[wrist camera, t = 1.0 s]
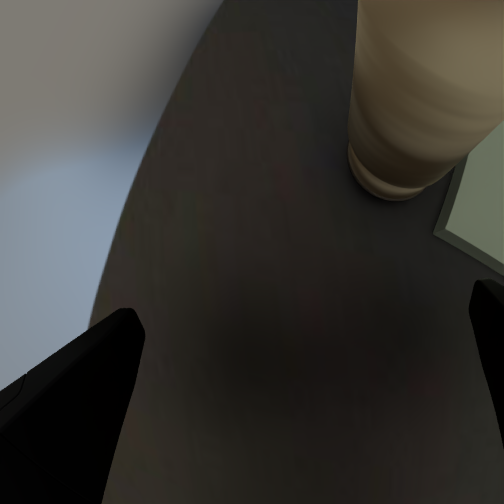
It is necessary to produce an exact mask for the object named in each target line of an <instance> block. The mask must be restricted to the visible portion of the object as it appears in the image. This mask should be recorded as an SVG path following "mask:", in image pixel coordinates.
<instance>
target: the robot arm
mask: <svg viewBox="0 0 504 504" xmlns="http://www.w3.org/2000/svg"><path fill="white" fill-rule="evenodd" d="M469 315H470V319H471V323H472V326H473V330H474V334H475V338H476V342H477V347H478V351H479V355H480V359H481V364H482V367H483V370H484V374H485V377H486V380H487V383H488V387H489V390H490V394H491V397H492V401H493V404H494V408H495V412H496V416H497V420H498V424H499V429H500V433H501V438H502V443H503V448H504V286H503V285H501V284H499V283H498V282H496V281H494V280H492V279H491V278H485V279H479V280H477V281H476V282H475V284H474V287H473V291H472V296H471V300H470V304H469ZM144 341H145V330H144V328H143V326H142V324H141V322H140V320H139V318H138V316H137V314H136V312H135V310H134V309H132V308H120V309H118V310H116V311H115V312H113V313H112V314H110V315H109V316H107V317H106V318H104V319H103V320H101V321H100V322H99V323H97V324H96V325H94V326H93V327H91V328H90V329H88V330H87V331H85V332H84V333H83V334H81V335H80V336H78V337H77V338H75V339H74V340H72V341H71V342H70V343H68V344H67V345H65V346H64V347H62V348H61V349H59V350H58V351H57V352H56V353H54V354H52V355H51V356H49V357H48V358H47V359H45V360H44V361H42V362H41V363H40V364H38V365H37V366H35V367H34V368H33V369H31V370H30V371H28V372H27V374H24V375H23V376H21V377H20V378H19V379H17V380H16V381H14V382H13V383H11V384H10V385H8V386H7V387H6V388H4V389H3V390H1V391H0V504H101V503H102V499H103V495H104V491H105V487H106V483H107V479H108V475H109V472H110V468H111V464H112V460H113V457H114V453H115V449H116V446H117V442H118V439H119V435H120V432H121V428H122V425H123V422H124V418H125V415H126V412H127V408H128V405H129V402H130V399H131V396H132V392H133V389H134V386H135V382H136V378H137V373H138V368H139V364H140V359H141V355H142V350H143V346H144Z"/></svg>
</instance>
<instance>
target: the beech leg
mask: <svg viewBox="0 0 504 504" xmlns="http://www.w3.org/2000/svg"><path fill="white" fill-rule="evenodd" d="M503 120H504V0H358V16H357V33H356V48H355V60H354V72H353V82H352V92H351V102H350V111H349V119H348V136H349V141H348V146H347V161H348V165H349V168H350V171H351V173H352V175H353V177H354V178H355V180H356V181H357V182H358V184H359V185H360V186H361V187H362V188H363V189H364V190H366V191H367V192H368V193H370V194H371V195H373V196H375V197H377V198H379V199H382V200H386V201H394V202H398V201H405V200H409V199H411V198H413V197H415V196H417V195H418V194H420V193H421V192H422V191H423V190H424V189H425V188H426V187H427V186H429V185H431V184H433V183H435V182H437V181H438V180H439V179H441V178H442V177H443V176H444V175H445V174H447V173H448V172H449V171H450V170H451V169H452V168H453V167H454V166H455V165H457V164H458V163H459V162H460V161H461V160H462V159H463V158H464V157H465V156H466V155H467V154H469V153H470V152H471V151H472V150H473V149H474V148H475V147H476V146H477V145H478V144H479V143H480V142H481V141H482V140H484V139H485V138H486V137H487V136H488V135H489V134H490V133H491V132H492V131H493V130H494V129H495V128H496V127H497V126H498V125H499V124H500V123H501V122H502V121H503Z"/></svg>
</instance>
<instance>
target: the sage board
mask: <svg viewBox="0 0 504 504" xmlns="http://www.w3.org/2000/svg"><path fill="white" fill-rule="evenodd" d="M433 235H435V236H437V237H439V238H441V239H442V240H444V241H446V242H448V243H449V244H451V245H453V246H455V247H456V248H458V249H460V250H462V251H463V252H465V253H467V254H468V255H470V256H472V257H473V258H475V259H477V260H478V261H480V262H482V263H483V264H485V265H486V266H488V267H490V268H491V269H493V270H494V271H496V272H498V273H499V274H501V275H502V276H504V120H503V121H502V122H501V123H500V124H499V125H498V126H497V127H496V128H495V129H494V130H493V131H492V132H491V133H490V134H489V135H488V136H487V137H486V138H485V139H484V140H482V141H481V142H480V143H479V144H478V145H477V146H476V147H475V148H474V149H473V150H472V151H471V152H470V153H469V154H467V155H466V156H465V157H464V158H463V159H462V160H461V161H460V162H459V163H458V164H457V165H456V166H455V170H454V173H453V176H452V179H451V183H450V186H449V189H448V192H447V195H446V198H445V201H444V204H443V207H442V210H441V212H440V215H439V218H438V221H437V223H436V226H435V229H434V231H433Z"/></svg>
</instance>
